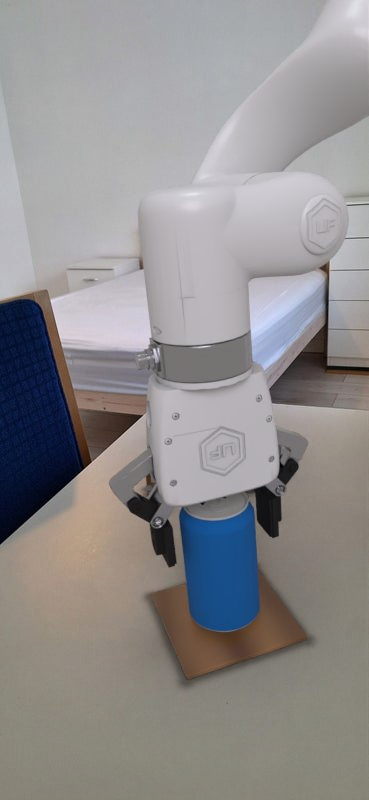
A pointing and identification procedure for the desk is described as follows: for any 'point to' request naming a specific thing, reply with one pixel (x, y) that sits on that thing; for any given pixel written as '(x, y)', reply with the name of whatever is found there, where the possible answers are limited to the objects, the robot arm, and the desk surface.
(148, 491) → the wooden post with brackets
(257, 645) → the coaster
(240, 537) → the beverage can
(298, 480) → the desk surface
